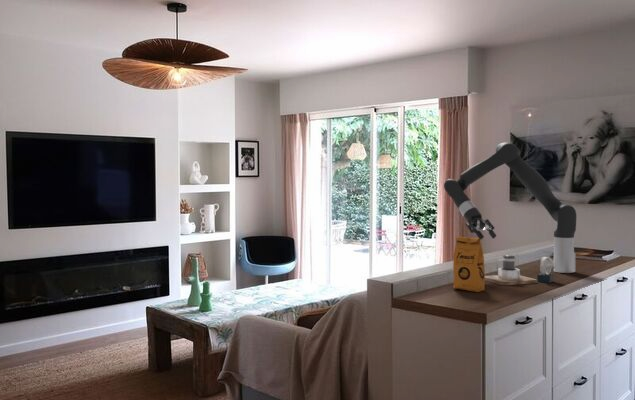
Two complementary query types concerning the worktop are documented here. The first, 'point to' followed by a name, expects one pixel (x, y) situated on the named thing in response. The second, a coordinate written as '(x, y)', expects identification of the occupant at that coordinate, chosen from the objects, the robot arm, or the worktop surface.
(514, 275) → the notched white ring
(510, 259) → the grey cylinder
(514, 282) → the mount board
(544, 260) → the watch
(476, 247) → the coffee package
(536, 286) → the worktop surface
